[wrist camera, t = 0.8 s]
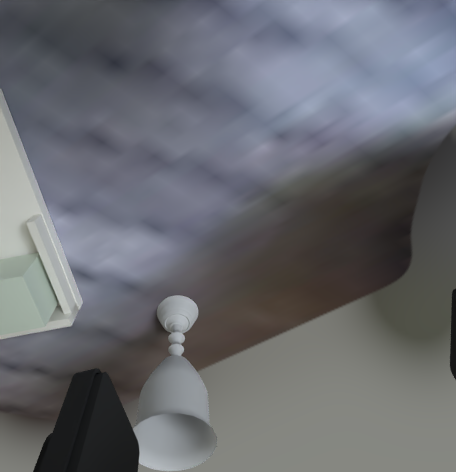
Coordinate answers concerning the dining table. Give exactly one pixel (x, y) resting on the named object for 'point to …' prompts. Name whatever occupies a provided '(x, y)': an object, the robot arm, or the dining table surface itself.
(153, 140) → the dining table surface
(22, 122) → the dining table surface
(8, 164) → the white joystick tray
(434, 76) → the dining table surface
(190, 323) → the chalice
